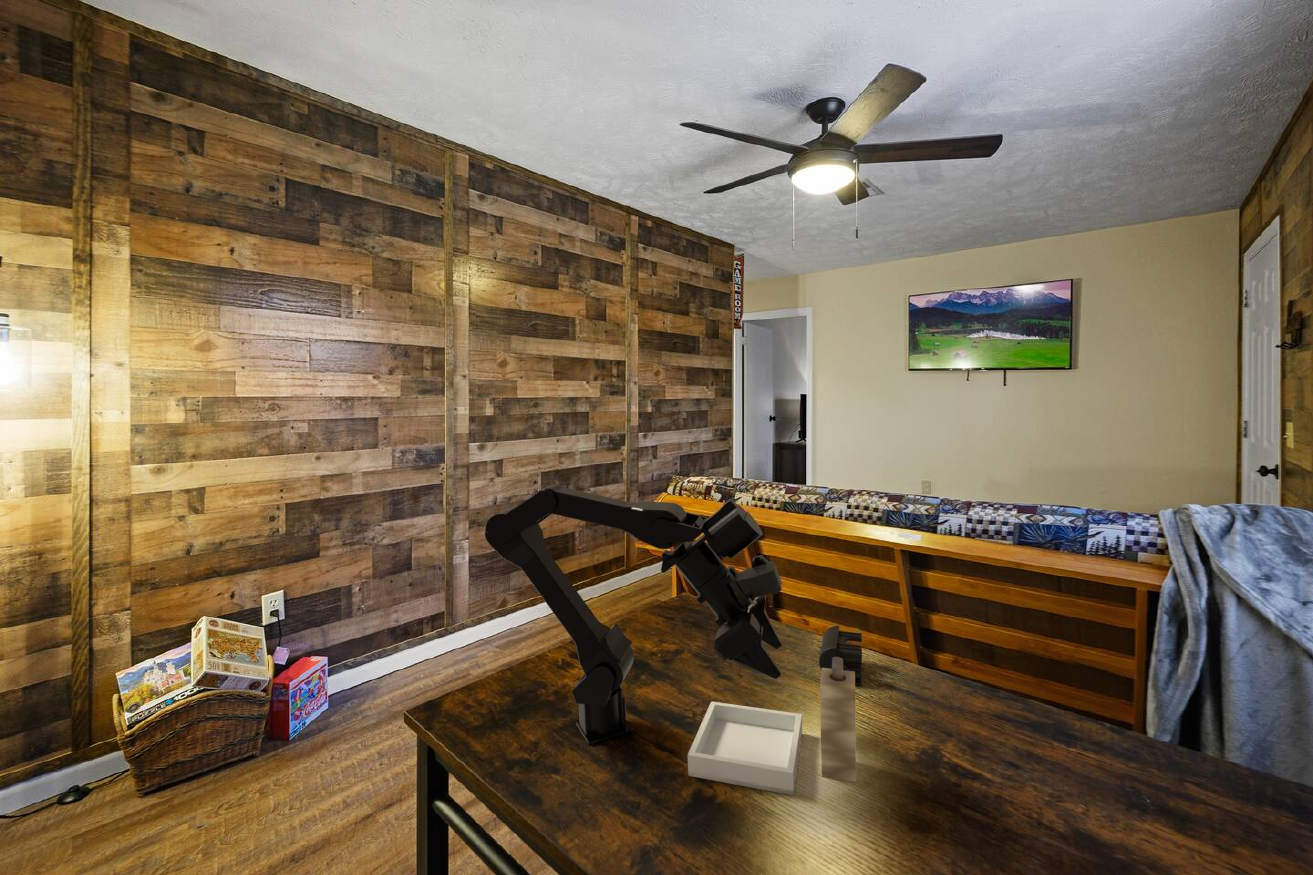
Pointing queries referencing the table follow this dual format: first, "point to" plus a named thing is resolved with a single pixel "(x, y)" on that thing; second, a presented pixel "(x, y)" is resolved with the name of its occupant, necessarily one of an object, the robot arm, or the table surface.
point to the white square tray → (747, 747)
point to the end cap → (842, 651)
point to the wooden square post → (838, 722)
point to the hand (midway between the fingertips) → (778, 661)
